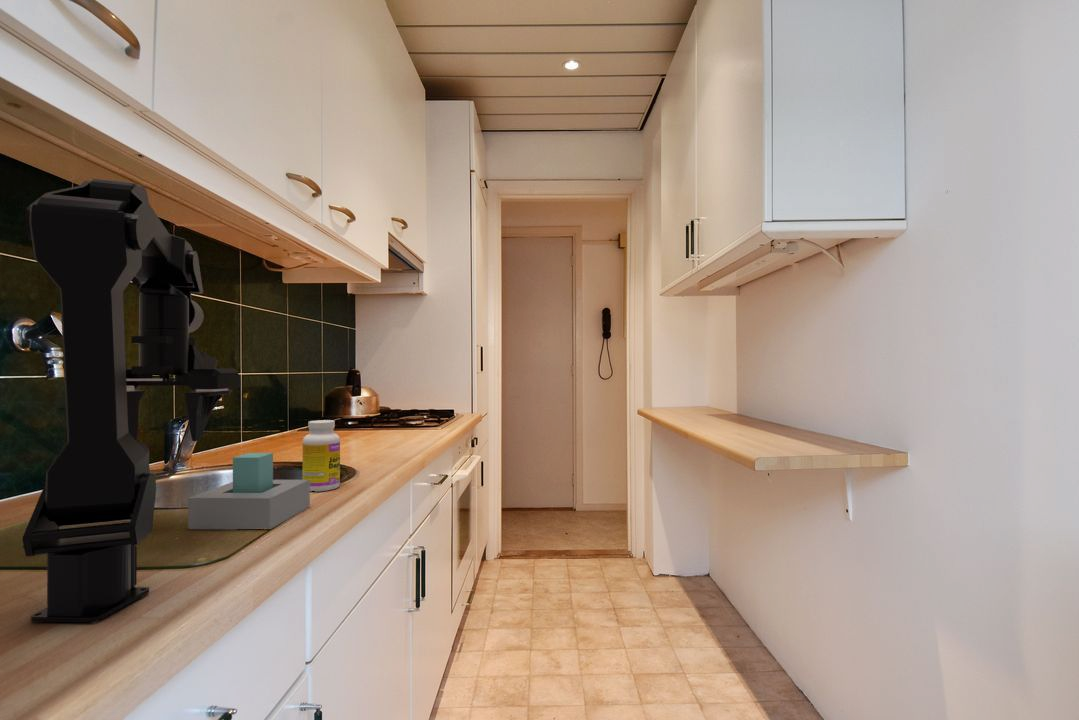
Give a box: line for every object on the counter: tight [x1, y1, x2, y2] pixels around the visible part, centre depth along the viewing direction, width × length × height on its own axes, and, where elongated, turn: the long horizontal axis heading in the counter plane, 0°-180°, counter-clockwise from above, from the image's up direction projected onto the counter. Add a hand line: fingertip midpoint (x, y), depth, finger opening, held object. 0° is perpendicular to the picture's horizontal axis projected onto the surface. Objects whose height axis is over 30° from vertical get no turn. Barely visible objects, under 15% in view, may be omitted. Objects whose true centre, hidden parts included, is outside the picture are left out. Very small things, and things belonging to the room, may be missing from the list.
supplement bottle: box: [301, 419, 341, 493], centre depth 100 cm, size 7×7×13 cm
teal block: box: [232, 452, 274, 493], centre depth 81 cm, size 4×4×9 cm
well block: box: [187, 479, 311, 531], centre depth 81 cm, size 12×12×4 cm
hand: (164, 440), depth 73 cm, fingers open, 9 cm apart
